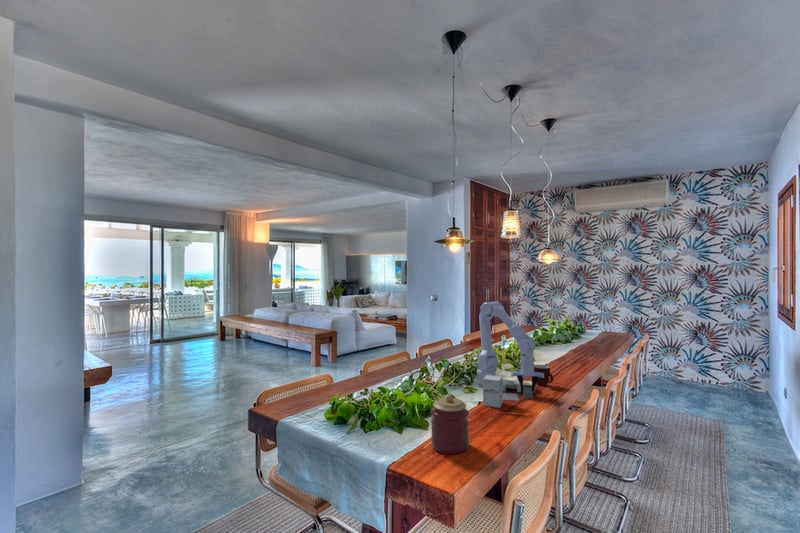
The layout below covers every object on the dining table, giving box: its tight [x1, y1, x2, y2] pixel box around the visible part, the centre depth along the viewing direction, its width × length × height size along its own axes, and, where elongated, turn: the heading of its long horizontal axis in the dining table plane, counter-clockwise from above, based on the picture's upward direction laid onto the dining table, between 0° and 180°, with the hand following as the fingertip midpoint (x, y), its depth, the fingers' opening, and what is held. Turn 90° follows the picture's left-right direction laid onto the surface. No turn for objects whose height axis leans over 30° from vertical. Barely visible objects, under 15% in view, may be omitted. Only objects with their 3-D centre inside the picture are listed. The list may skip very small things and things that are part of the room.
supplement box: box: [482, 375, 504, 409], centre depth 171 cm, size 7×7×13 cm
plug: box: [522, 387, 534, 400], centre depth 181 cm, size 4×8×4 cm, turn 167°
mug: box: [534, 364, 554, 387], centre depth 198 cm, size 10×8×10 cm
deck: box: [503, 392, 520, 402], centre depth 181 cm, size 8×10×1 cm
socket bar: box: [503, 379, 536, 394], centre depth 190 cm, size 15×7×5 cm, turn 77°
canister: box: [430, 393, 470, 455], centre depth 132 cm, size 13×13×18 cm
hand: (527, 392), depth 181 cm, fingers closed on plug, 4 cm apart
